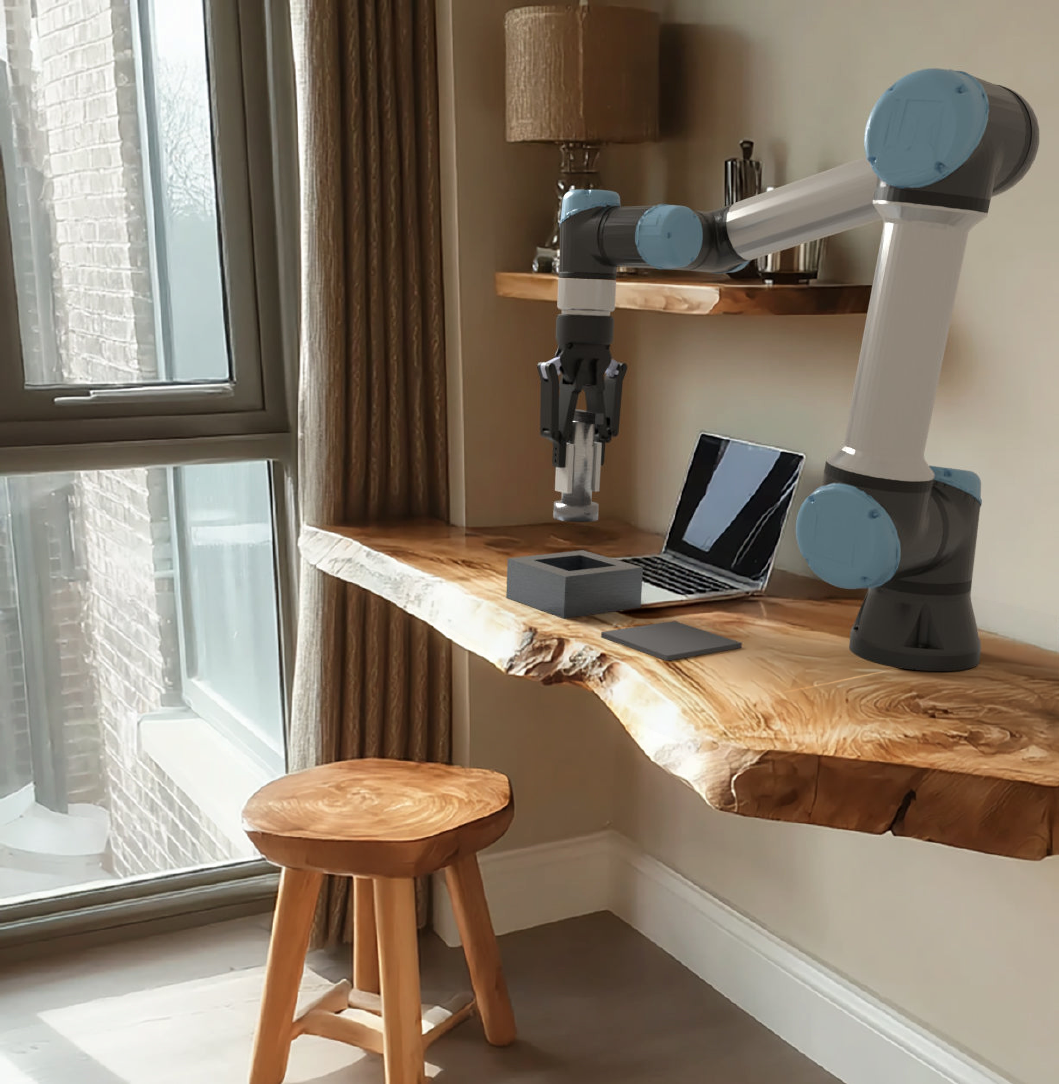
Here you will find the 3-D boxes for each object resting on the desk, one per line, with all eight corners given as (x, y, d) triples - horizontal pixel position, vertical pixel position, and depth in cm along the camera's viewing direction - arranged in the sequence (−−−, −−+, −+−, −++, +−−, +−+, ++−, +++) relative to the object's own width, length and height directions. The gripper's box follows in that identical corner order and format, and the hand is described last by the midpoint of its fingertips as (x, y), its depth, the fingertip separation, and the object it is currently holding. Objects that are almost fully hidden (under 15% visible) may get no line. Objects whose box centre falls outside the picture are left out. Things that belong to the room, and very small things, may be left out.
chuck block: (640, 607, 174) (642, 567, 173) (563, 618, 167) (565, 576, 166) (581, 588, 184) (582, 550, 183) (506, 597, 177) (507, 558, 176)
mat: (741, 647, 156) (741, 642, 156) (666, 660, 149) (667, 655, 149) (674, 625, 165) (674, 620, 165) (601, 636, 158) (601, 632, 158)
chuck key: (611, 521, 172) (617, 413, 169) (576, 524, 169) (581, 414, 166) (575, 511, 178) (579, 407, 176) (540, 514, 175) (544, 408, 172)
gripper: (617, 313, 176) (608, 483, 181) (515, 310, 166) (508, 490, 171) (654, 315, 170) (644, 491, 175) (550, 312, 160) (542, 499, 165)
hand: (577, 490), depth 173 cm, fingers closed on chuck key, 4 cm apart
